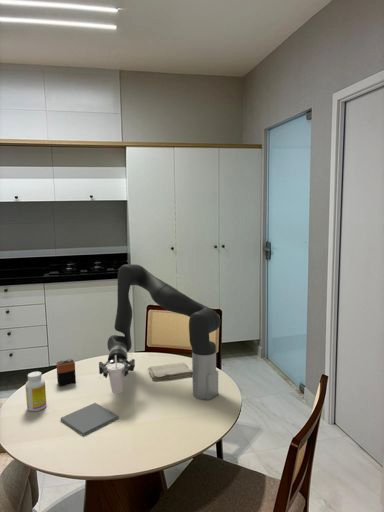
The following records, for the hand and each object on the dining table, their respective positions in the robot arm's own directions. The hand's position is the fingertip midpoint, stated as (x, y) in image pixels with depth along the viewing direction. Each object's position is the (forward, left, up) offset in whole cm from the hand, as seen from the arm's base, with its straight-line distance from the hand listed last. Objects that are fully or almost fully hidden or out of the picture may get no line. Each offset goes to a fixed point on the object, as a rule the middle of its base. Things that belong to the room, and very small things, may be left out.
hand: (115, 374), depth 143 cm
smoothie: (+2, -2, -8) cm, 8 cm away
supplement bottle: (+22, +19, -13) cm, 32 cm away
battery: (+32, +1, -13) cm, 35 cm away
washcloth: (+6, -33, -13) cm, 36 cm away
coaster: (0, +11, -12) cm, 17 cm away
